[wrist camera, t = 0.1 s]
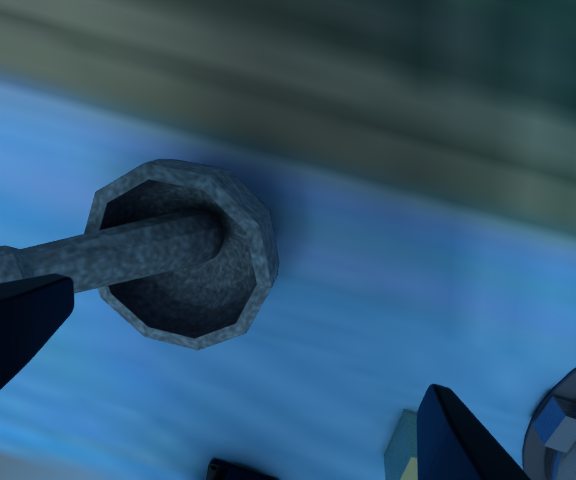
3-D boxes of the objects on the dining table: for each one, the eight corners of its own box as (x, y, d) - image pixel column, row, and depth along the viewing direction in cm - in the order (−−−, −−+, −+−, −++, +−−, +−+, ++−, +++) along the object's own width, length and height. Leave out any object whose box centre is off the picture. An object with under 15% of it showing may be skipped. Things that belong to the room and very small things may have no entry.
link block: (429, 468, 28) (440, 523, 24) (383, 454, 28) (387, 506, 25) (453, 422, 26) (469, 475, 23) (404, 407, 27) (411, 456, 23)
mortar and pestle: (307, 164, 22) (252, 229, 11) (285, 299, 25) (226, 453, 14) (133, 133, 23) (-79, 161, 12) (135, 265, 26) (-27, 381, 15)
